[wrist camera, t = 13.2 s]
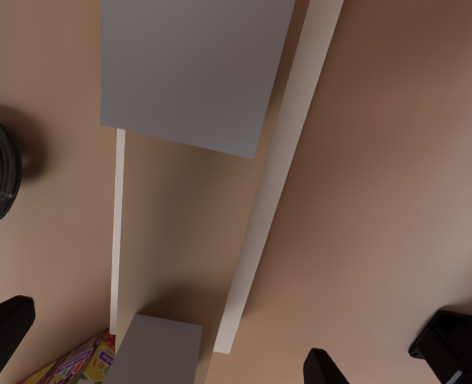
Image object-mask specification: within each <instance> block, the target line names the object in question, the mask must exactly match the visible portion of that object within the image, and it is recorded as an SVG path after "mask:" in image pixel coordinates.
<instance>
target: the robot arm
mask: <svg viewBox="0 0 472 384" xmlns="http://www.w3.org/2000/svg"><path fill="white" fill-rule="evenodd" d="M35 316H36V315H35V306H34V300H33V298H32V297H28V296H22V295H18V296H15V297H12V298H10V299H8V300H6V301H4V302H2V303H0V373H1V371H2V370H3V368H4V367H5V365H6V364H7V362H8V361H9V359H10V358H11V356H12V355H13V353H14V352H15V350H16V349H17V347H18V346H19V344H20V342H21V341H22V339H23V338H24V336H25V335H26V333H27V332H28V330H29V329H30V327H31V326H32V324H33V322H34V320H35ZM408 353H409V354H410V356H411V357H413V358H418V359H424V360H426V362H427V363H428V365H429V366H430V368H431V369H432V371H433V372H434V374H435V375H436V377H437V378H438V379H439V381H440V382H441V384H472V316H468V315H463V314H458V313H452V312H447V311H439V312H437V313H436V314H435V315H434V317H433V318H432V319H431V321H430V322H429V323H428V325H427V326H426V327H425V329H424V330H423V331H422V333H421V334H420V335H419V337H418V338H417V340H416V341H415V342H414V344H413V345H412V346H411V348H410V349H409V350H408ZM303 374H304V384H349V382H348V381H347V379H346V378H345V377H344V375H343V374H342V373H341V371H340V370H339V368H338V367H337V366H336V364H335V363H334V362H333V360H332V359H331V357H330V356H329V355H328V353H327V352H326V351H325V350H323V349H318V348H312V349H311V350H310V352H309V354H308V356H307V358H306V360H305V362H304V366H303Z"/></svg>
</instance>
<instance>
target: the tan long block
mask: <svg viewBox="0 0 472 384" xmlns="http://www.w3.org/2000/svg"><path fill="white" fill-rule="evenodd" d="M309 3H310V0H295V4H294V8H293V12H292V16H291V19H290V23H289V27H288V31H287V35H286V38H285V42H284V46H283V50H282V54H281V57H280V61H279V65H278V69H277V72H276V76H275V80H274V84H273V88H272V91H271V95H270V99H269V103H268V107H267V110H266V114H265V118H264V122H263V126H262V129H261V133H260V137H259V141H258V144H257V148H256V152H255V156H254V159H249V158H245V157H241V156H236V155H232V154H228V153H223V152H219V151H214V150H210V149H206V148H201V147H197V146H192V145H188V144H184V143H179V142H175V141H171V140H166V139H162V138H157V137H153V136H149V135H144V134H140V133H135V132H131V131H127V130H125V150H124V171H123V193H122V214H121V236H120V257H119V279H118V300H117V322H116V343H115V355H116V353H117V351H118V349H119V347H120V345H121V343H122V340H123V338H124V336H125V334H126V332H127V330H128V328H129V326H130V323H131V321H132V319H133V317H134V315H135V314H139V315H145V316H150V317H156V318H162V319H167V320H173V321H179V322H184V323H190V324H196V325H201V326H203V329H202V335H201V342H200V348H199V354H198V361H197V367H196V373H195V379H194V384H204V381H205V378H206V374H207V370H208V367H209V363H210V360H211V356H212V352H213V349H214V345H215V342H216V338H217V334H218V331H219V327H220V323H221V320H222V316H223V313H224V309H225V305H226V302H227V298H228V295H229V291H230V287H231V284H232V280H233V277H234V273H235V269H236V266H237V262H238V259H239V255H240V251H241V248H242V244H243V241H244V237H245V233H246V230H247V226H248V223H249V219H250V215H251V212H252V208H253V204H254V201H255V197H256V194H257V190H258V186H259V183H260V179H261V176H262V172H263V168H264V165H265V161H266V158H267V154H268V150H269V147H270V143H271V140H272V136H273V132H274V129H275V125H276V122H277V118H278V114H279V111H280V107H281V104H282V100H283V96H284V93H285V89H286V85H287V82H288V78H289V75H290V71H291V67H292V64H293V60H294V57H295V53H296V49H297V46H298V42H299V39H300V35H301V31H302V28H303V24H304V21H305V17H306V13H307V10H308V6H309Z"/></svg>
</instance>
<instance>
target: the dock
mask: <svg viewBox="0 0 472 384" xmlns="http://www.w3.org/2000/svg"><path fill="white" fill-rule="evenodd" d="M343 2H344V0H310V3H309V6H308V10H307V13H306V17H305V21H304V24H303V28H302V31H301V35H300V39H299V42H298V46H297V49H296V53H295V57H294V60H293V64H292V67H291V71H290V75H289V78H288V82H287V85H286V89H285V93H284V96H283V100H282V104H281V107H280V111H279V114H278V118H277V122H276V125H275V129H274V132H273V136H272V140H271V143H270V147H269V150H268V154H267V158H266V161H265V165H264V168H263V172H262V176H261V179H260V183H259V186H258V190H257V194H256V197H255V201H254V204H253V208H252V212H251V215H250V219H249V223H248V226H247V230H246V233H245V237H244V241H243V244H242V248H241V251H240V255H239V259H238V262H237V266H236V269H235V273H234V277H233V280H232V284H231V287H230V291H229V295H228V298H227V302H226V305H225V309H224V313H223V316H222V320H221V323H220V327H219V331H218V334H217V338H216V342H215V345H214V349H213V351H215V352H221V353H227V354H229V353H230V350H231V347H232V344H233V340H234V337H235V334H236V331H237V328H238V325H239V322H240V319H241V316H242V313H243V310H244V307H245V303H246V300H247V297H248V294H249V291H250V288H251V285H252V282H253V279H254V276H255V273H256V270H257V267H258V263H259V260H260V257H261V254H262V251H263V248H264V245H265V242H266V239H267V236H268V233H269V230H270V226H271V223H272V220H273V217H274V214H275V211H276V208H277V205H278V202H279V199H280V196H281V193H282V190H283V186H284V183H285V180H286V177H287V174H288V171H289V168H290V165H291V162H292V159H293V156H294V153H295V149H296V146H297V143H298V140H299V137H300V134H301V131H302V128H303V125H304V122H305V119H306V116H307V112H308V109H309V106H310V103H311V100H312V97H313V94H314V91H315V88H316V85H317V82H318V79H319V76H320V72H321V69H322V66H323V63H324V60H325V57H326V54H327V51H328V48H329V45H330V42H331V39H332V35H333V32H334V29H335V26H336V23H337V20H338V17H339V14H340V11H341V8H342V5H343ZM124 150H125V130H122V129H118V128H117V151H116V177H115V204H114V230H113V256H112V282H111V308H110V334H114V335H116V322H117V300H118V279H119V257H120V236H121V214H122V193H123V171H124Z"/></svg>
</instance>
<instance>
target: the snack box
mask: <svg viewBox="0 0 472 384" xmlns="http://www.w3.org/2000/svg"><path fill="white" fill-rule="evenodd" d="M115 343H116V335H114V334H110V330H109V329H107V330H105V331H103V332H102V333H100V334H99V335H97V336H95V337H94V338H92V339H90V340H89V341H87V342H86V343H84V344H82V345H81V346H79V347H78V348H76V349H74V350H73V351H71V352H69V353H68V354H66V355H64V356H63V357H61V358H60V359H58V360H57V361H55V362H53V363H52V364H50V365H48V366H47V367H45V368H43V369H42V370H40V371H38V372H37V373H35V374H34V375H32V376H30V377H29V378H27V379H25V380H23V381H22V382H20V383H19V384H102V383H103V381H104V379H105V377H106V375H107V373H108V370H109V368H110V366H111V364H112V362H113V360H114V358H115Z"/></svg>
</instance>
